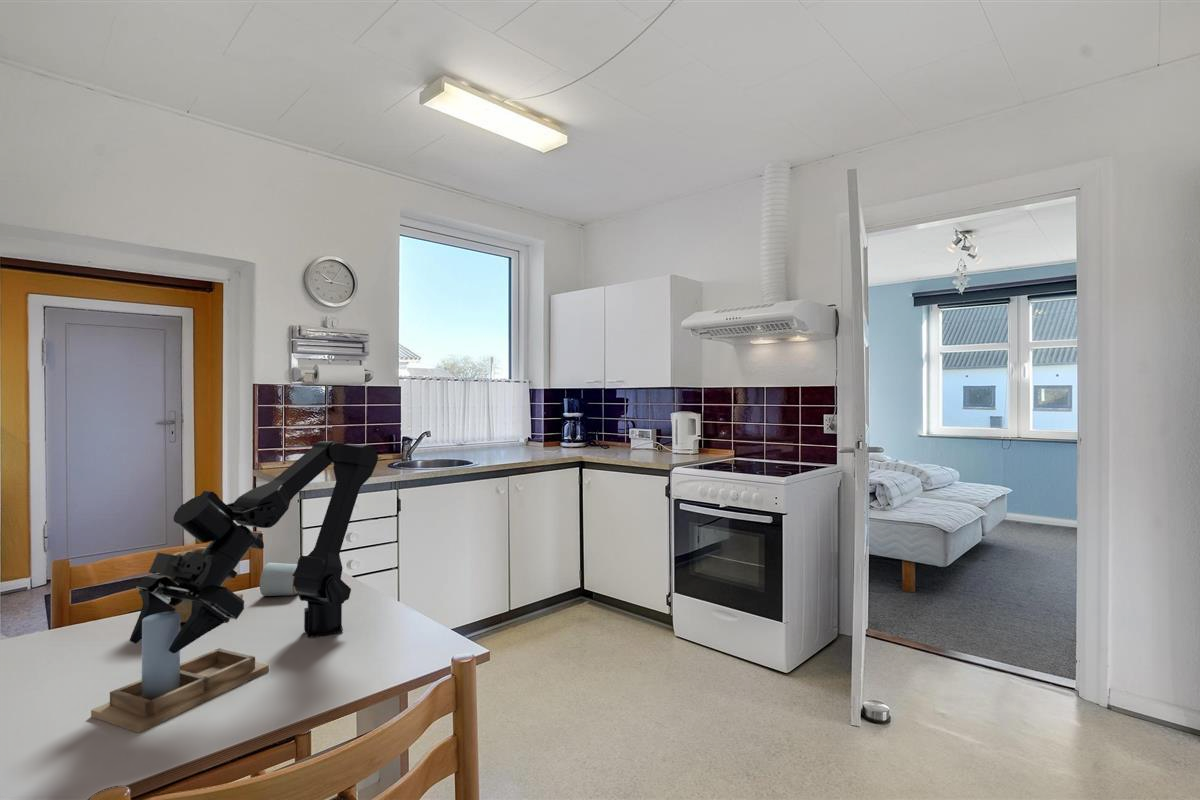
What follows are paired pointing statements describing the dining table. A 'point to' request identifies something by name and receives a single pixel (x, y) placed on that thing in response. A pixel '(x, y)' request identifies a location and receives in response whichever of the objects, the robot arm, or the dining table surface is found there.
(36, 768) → the dining table surface
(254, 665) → the wooden compartment tray
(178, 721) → the dining table surface
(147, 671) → the blue-grey round cylinder
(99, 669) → the dining table surface
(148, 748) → the dining table surface
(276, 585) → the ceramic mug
